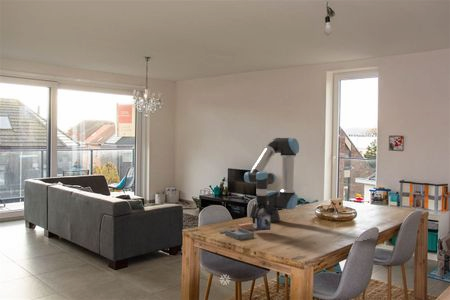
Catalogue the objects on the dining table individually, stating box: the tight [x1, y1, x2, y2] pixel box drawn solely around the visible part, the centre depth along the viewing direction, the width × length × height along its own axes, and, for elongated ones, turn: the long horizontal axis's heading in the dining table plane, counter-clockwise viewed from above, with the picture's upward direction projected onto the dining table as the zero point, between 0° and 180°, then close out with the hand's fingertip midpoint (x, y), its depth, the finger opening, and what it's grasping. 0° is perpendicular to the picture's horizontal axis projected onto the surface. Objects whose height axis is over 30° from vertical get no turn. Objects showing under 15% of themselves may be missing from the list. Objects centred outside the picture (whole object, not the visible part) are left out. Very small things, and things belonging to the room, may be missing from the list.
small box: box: [252, 212, 271, 232], centre depth 263 cm, size 11×6×10 cm, turn 106°
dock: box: [219, 227, 255, 241], centre depth 258 cm, size 12×21×3 cm, turn 36°
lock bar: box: [237, 222, 254, 231], centre depth 272 cm, size 13×3×4 cm, turn 126°
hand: (261, 226), depth 263 cm, fingers closed on small box, 11 cm apart
